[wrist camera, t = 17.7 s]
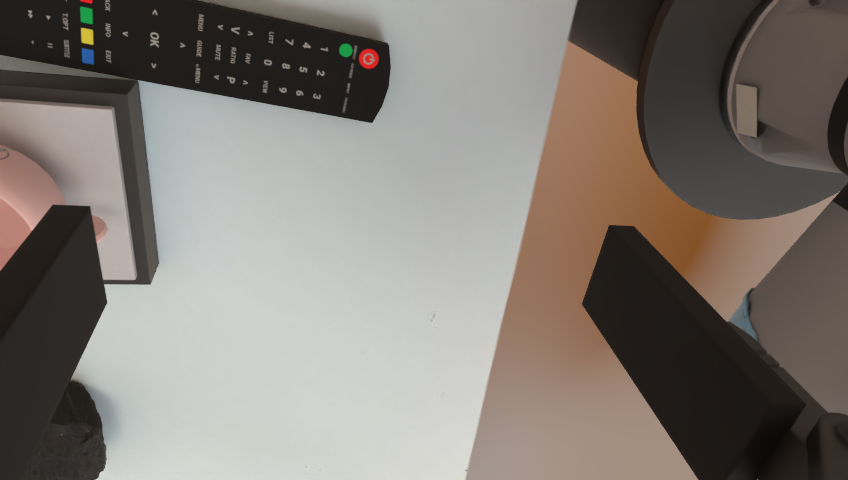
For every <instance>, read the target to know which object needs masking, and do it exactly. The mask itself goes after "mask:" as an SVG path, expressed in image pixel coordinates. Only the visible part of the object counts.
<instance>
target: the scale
mask: <svg viewBox="0 0 848 480" xmlns="http://www.w3.org/2000/svg"><path fill="white" fill-rule="evenodd" d="M0 144H1V145H4V146H6V147H8V148H11V149H13V150H15V151H18V152H20V153H21V154H23V155H25V156H26V157H28V158H29V159H31V160H33V161H34V162H36V163H37V164H38V165H39V166H40V167H41V168H42V169H43V170H45V171H46V172H47V173H48V174H49V175H50V177H51V178H52V179H53V180H54V182H55V183H56V184H57V185H58V187H59V189H60V191H61V193H62V195H63V197H64V199H65V202H66V205H78V206H90V207H91V213H92V215H94V216H97V217H99V218H101V219H102V220H103V221H104V222H105V224H106V225H107V228H108V230H107V233H106V235H105V237H104V238H103V240H101V241H100V242H99V243H97V248H98V253H99V259H100V265H101V271H102V276H103V282H104V284H151V282H152V279H153V277H154V274H155V272H156V269H157V267H158V264H159V261H158V252H157V243H156V234H155V225H154V216H153V207H152V199H151V190H150V181H149V172H148V163H147V154H146V145H145V137H144V128H143V119H142V110H141V101H140V92H139V83H138V81H128V80H115V79H103V78H91V77H79V76H67V75H54V74H42V73H30V72H18V71H6V70H0Z"/></svg>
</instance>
